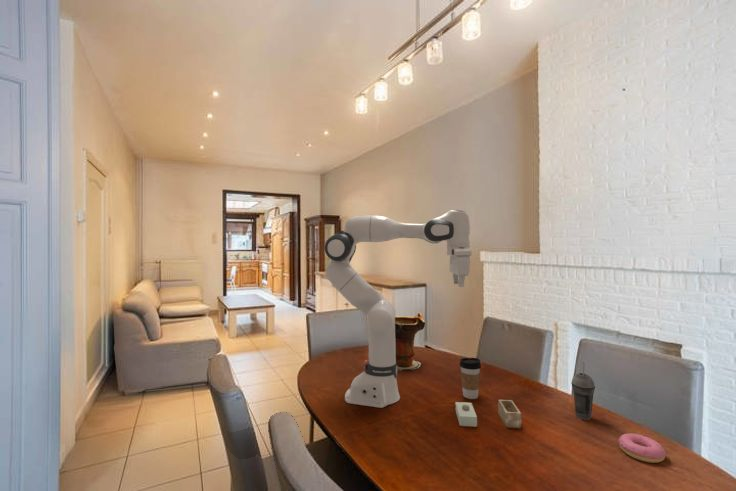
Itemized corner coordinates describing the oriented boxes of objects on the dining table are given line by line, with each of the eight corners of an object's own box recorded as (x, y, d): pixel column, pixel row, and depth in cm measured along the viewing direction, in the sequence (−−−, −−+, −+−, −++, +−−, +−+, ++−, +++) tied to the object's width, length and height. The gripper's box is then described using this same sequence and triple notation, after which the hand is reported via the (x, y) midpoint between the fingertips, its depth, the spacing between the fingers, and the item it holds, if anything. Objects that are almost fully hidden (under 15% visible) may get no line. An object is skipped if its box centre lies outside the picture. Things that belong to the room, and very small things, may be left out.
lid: (459, 426, 118) (459, 413, 118) (455, 411, 128) (455, 399, 128) (477, 427, 117) (476, 414, 117) (471, 412, 128) (471, 400, 128)
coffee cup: (482, 401, 136) (482, 363, 136) (460, 399, 138) (460, 362, 138) (479, 392, 144) (479, 356, 144) (459, 390, 146) (458, 355, 146)
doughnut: (676, 463, 97) (676, 448, 97) (644, 468, 95) (644, 453, 95) (638, 441, 108) (638, 428, 108) (609, 446, 105) (609, 432, 105)
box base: (506, 427, 116) (505, 412, 116) (498, 413, 126) (498, 399, 126) (521, 428, 116) (521, 413, 116) (512, 413, 126) (512, 400, 126)
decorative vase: (430, 371, 168) (427, 314, 169) (384, 373, 169) (380, 316, 169) (424, 357, 189) (421, 307, 189) (382, 359, 189) (379, 309, 190)
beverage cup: (592, 414, 125) (591, 359, 125) (598, 423, 118) (597, 365, 118) (569, 411, 127) (568, 357, 128) (574, 420, 121) (573, 363, 121)
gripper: (445, 250, 147) (446, 282, 147) (455, 251, 126) (455, 288, 126) (460, 250, 146) (460, 282, 146) (472, 251, 126) (473, 288, 126)
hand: (458, 285), depth 136 cm, fingers open, 8 cm apart
